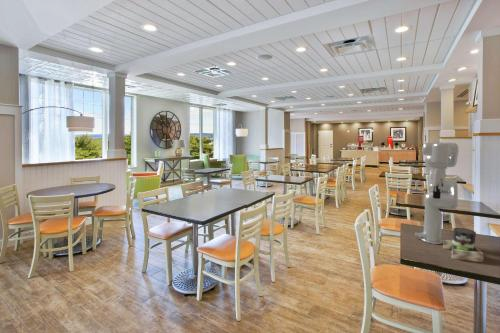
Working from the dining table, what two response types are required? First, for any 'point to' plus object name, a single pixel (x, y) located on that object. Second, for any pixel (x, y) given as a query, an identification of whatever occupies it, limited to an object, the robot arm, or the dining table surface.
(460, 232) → the coffee can
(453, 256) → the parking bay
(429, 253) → the dining table surface
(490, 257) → the dining table surface
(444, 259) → the dining table surface
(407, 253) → the dining table surface
